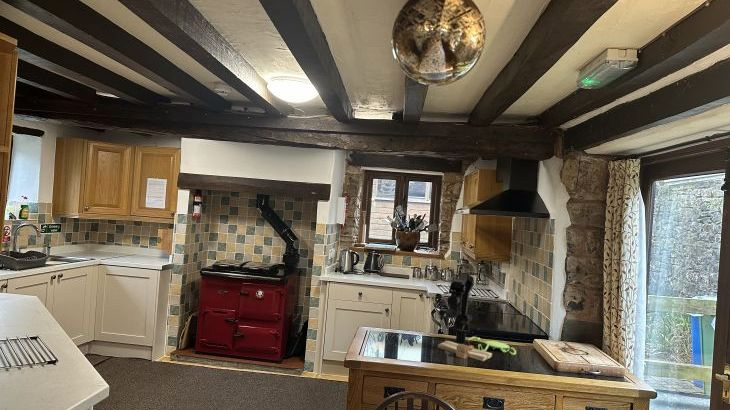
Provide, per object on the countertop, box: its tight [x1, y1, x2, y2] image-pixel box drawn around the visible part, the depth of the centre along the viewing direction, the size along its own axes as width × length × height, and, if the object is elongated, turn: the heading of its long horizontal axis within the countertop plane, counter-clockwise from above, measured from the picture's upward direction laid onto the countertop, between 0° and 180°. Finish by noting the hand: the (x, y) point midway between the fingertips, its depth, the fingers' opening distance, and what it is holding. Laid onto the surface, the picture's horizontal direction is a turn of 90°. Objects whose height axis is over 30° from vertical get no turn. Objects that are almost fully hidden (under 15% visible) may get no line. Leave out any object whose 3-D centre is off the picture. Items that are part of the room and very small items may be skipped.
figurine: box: [467, 336, 517, 356], centre depth 282 cm, size 18×26×6 cm
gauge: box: [455, 343, 475, 360], centre depth 266 cm, size 16×5×6 cm, turn 142°
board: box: [437, 340, 493, 362], centre depth 271 cm, size 12×28×2 cm, turn 52°
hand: (453, 329), depth 274 cm, fingers open, 9 cm apart
